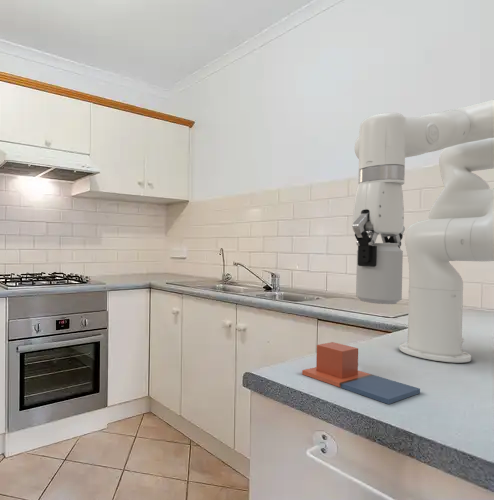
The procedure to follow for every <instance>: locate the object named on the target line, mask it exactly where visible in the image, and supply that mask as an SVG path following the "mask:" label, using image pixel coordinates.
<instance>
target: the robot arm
mask: <svg viewBox="0 0 494 500" xmlns="http://www.w3.org/2000/svg"><path fill="white" fill-rule="evenodd" d="M358 134H359V135H358V137H357V138H356V140H355V143H354V153H355V156H356V158H357V159H358V180H357V181H358V183H357V187H356V191H355V196H354V202H353V210H352V211H353V213H352V225H351V226H352V231H353V232H354V237H355V240H356V242H355V243H356V246H357V250H358V266H370V267H375V266H376V263H377V246H374V244H375V243H376V242H377V238H378V235H380V238H381V240H382V241H381V242H382V243H389V242H390V243H398V244H399V245H398V247H399V248H400V249H401V246H402V240H403V237H404V246H405V250H406V256H407V262H408V306H407V307H408V313H407V342H404V343H401V344H399V348H398V349H399V351H400V352H401V353H404V354H406V355H409V356H412V357H416V358H420V359H425V360H429V361H436V362H443V363H453V364H454V363H455V364H457V363H458V364H460V363H461V364H462V363H463V364H464V363H470V362H471V361H472V355H471V354H470V353H469V352H467V351H463V350H462V349H463V347H462V345H463V343H464V342H465V339H464V337H463V306H464V304H463V303H464V281H463V278H462V276H461V274H460V273H459V272H458V270H457V269H456V268H455V267H454V266H453V265H452V263H451V262H494V188H490V185H489V184H488V182H487V181H486V180H484V179H483V178H482V177H481V176H479V175H477V174H476V173H474V172H479V171H484V170H486V171H487V170H492V169H494V99H489V100H486V101H482V102H478V103H474V104H470V105H466V106H462V107H457V108H453V109H449V110H444V111H438V112H432V113H427V114H425V115H420V116H404V115H403V114H401V113H399V112H382V113H376V114H374V115H370V116H368V117H366V118H365V119H364V120H362V122H361V123H360V125H359V133H358ZM437 151H441V152H440V153H439V157H438V165H439V173H440V178H441V181H442V185H443V189H442V190H441V191H440V194H438V196H437V198H436V199H435V201H434V202H433V204H432V206H431V208H430V210H429V211H428V219H424V220H420V221H419V220H418V221H416V222H414V223H412V224H410V225H409V226H408V227H407V228H406V227H405V225H404V224H405V223H404V221H405V209H404V207H405V206H404V194H403V193H404V192H403V186H402V185H405V174H406V173H405V170H406V168H405V167H406V158H412V157H417V156H421V155H424V154H427V153H432V152H437ZM403 235H404V236H403Z"/></svg>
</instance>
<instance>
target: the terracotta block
mask: <svg viewBox="0 0 494 500" xmlns="http://www.w3.org/2000/svg"><path fill="white" fill-rule="evenodd" d="M315 361H316V362H315V363H316V365H315V367H316V370H317V371H320V372H323V373H326V374H329V375H332V376H335V377H338V378H341V379H343V378H346V377H350V376H354V375H358V371H359V347H354V346H350V345H346V344H343V343H338V342H334V341H330V342H325V343H320V344H316V360H315Z"/></svg>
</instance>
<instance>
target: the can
mask: <svg viewBox="0 0 494 500" xmlns="http://www.w3.org/2000/svg"><path fill="white" fill-rule="evenodd" d="M398 245H399V244H398V243H390V242H389V243H383V242H375V244H374V246H377V263H376V266H375V267H370V266H358V249H357V250H356V277H355V279H356V280H355V281H356V282H355V284H356V286H355V296H356V297H357V298H358V300H360V302H363V303H369V304H376V305H377V304H378V305H396V304H397V303H399V302H400V301H402V300H403V261H404V260H403V258H404V257H403V256H404V255H403V254H404V252H403V250H402V249H401V247H400V248H399V247H398Z"/></svg>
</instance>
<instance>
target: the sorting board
mask: <svg viewBox="0 0 494 500" xmlns="http://www.w3.org/2000/svg"><path fill="white" fill-rule="evenodd" d="M301 375H303V376H306V377H309V378H312V379H314V380H318V381H320V382H324V383H325V384H329V385H331V386H335V387H338V388H340V389H344V390H346V391H349V392H351V393H354V394H358V395H361V396H363V397H366V398H369V399H372V400H375V401H378V402H381V403H384V404H387V405H391V404H393V403H396V402H399V401H402V400H405V399H409V398H410V397H414V396H416V395H419V394H421V388H419V387H416V386H413V385H409V384H406V383H402V382H399V381H396V380H392V379H388V378H385V377H382V376H379V375H376V374H372V373H369V372H365V371H361V370H358V375H354V376H350V377H346V378H343V379H341V378H338V377H335V376H332V375H329V374H326V373H323V372H320V371H317V370H316V366H315V367H310V368H306V369H302V371H301Z"/></svg>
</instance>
